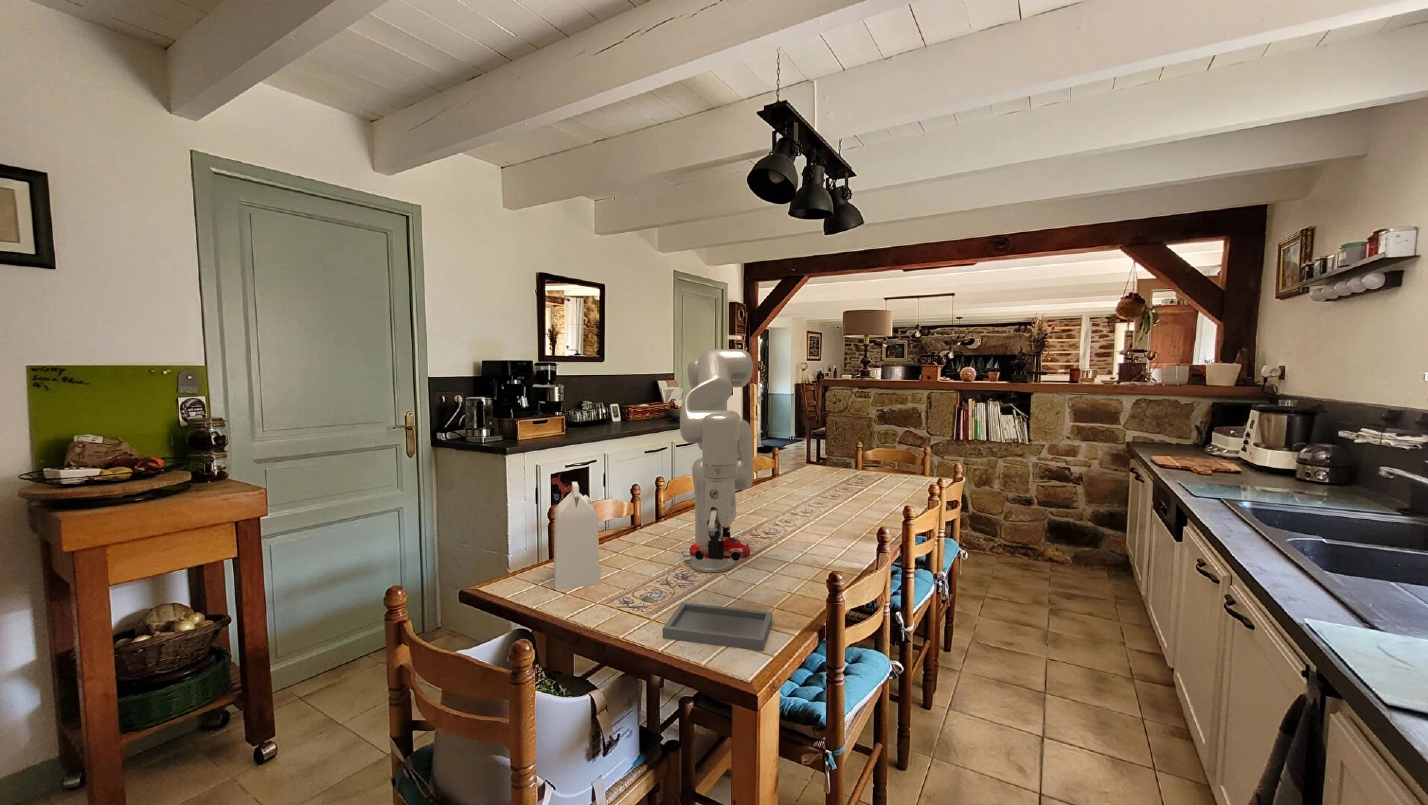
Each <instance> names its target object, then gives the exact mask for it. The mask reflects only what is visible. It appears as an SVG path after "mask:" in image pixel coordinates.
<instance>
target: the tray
mask: <svg viewBox="0 0 1428 805" xmlns="http://www.w3.org/2000/svg"><path fill="white" fill-rule="evenodd" d="M772 625H773V611H764V610H757V609H746V608H739V607H728V606H720V605H719V606H718V605H712V604H703V603H702V604H701V603H694V602H693V603H691V602H684V601H683V602H682V601H681V603H680V604H679V605H678V607H677V608H676V609H675V611H674V612H673V613H672V615H671V616H670V617H669V619H668V620H667V621H666V623H665V624H664V626H663V627H662V639H665V640H672V641H673V640H674V641H680V642H681V641H683V642H691V643H695V644H696V643H697V644H698V643H699V644H705V645H713V646H723V647H727V648H728V647H729V648H737V649H745V650H752V651H759V652H763V651H764V649H765V646H766V642H767V640H768V636H769V634H770V630H771V627H772Z"/></svg>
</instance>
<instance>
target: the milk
mask: <svg viewBox="0 0 1428 805" xmlns="http://www.w3.org/2000/svg"><path fill="white" fill-rule="evenodd" d="M598 519H599V518H598V512H597V509H596V507H595V505H594V504H593V500H592V499H591V498H590V497H589V496H588V495H587V494H584V495H583V494H582V493H581V492H580V486H579V484H578V481H571V492H570V493H568V494H567V495H566V497H564V498H563V499H562V500H561V501H560V502H559V503H558V504H557V505H556V507H555V511H554V542H553V543H554V546H553V551H554V552H553V580H554V589H555V591H557V590H564V589H572V588H582V587H590V586H599V585H601V571H600V570H601V568H600V567H601V565H600V564H601V562H600V542H599V524H598V523H599V521H598Z"/></svg>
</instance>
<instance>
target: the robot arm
mask: <svg viewBox="0 0 1428 805" xmlns="http://www.w3.org/2000/svg"><path fill="white" fill-rule="evenodd" d="M753 370H754V363H753V359H752V356H751V354H750V353H749V352H748V351H747V350H745V349H739V348H738V349H737V348H734V349H733V348H731V349H730V348H728V349H727V348H723V349H722V348H713V349H707V350H705V351H704V352H702V353H701V354H700V355H699V357H698V358H694V359H692V360H691V361H689V362H688V365H687V378H688V382H689V386H690V391H688V393H686V395H685V396H684V398H683V399H682V401H681V405H680V410H679V411H680V412H679V414H680V415H679V416H680V417H679V429H680V435H681V438H682V439H683V441H684V442H686V443H689V444H697V447H698V448H699V449H700V450H701V452H702V453H701V455H702V456H701V457H699V458H697V459H696V460H695V461H694V462H693V464H692V467H691V476H692V483H693V490H694V511H695V512H694V517H695V518H694V524H695V525H694V531H695V532H694V536H695V537H694V538H695V540H694V542H695V543H698V542H705V541H708V558H705V556H704V557H703V559H701V560H698V559H696V557H693V556H691V555H690V553H689V549H690V548H686V547H682V549H681V555H682V556H683V558H690V560H689V566H690V568H691V569H694V570H695V571H697V572H701V573H702V572H703V573H720V572H725V571H728V570H730V569H732V568H733V567H734V560H733V559H732V558H731V559H723V558H724V541H723V540H722V537H731V525H732V524H733V522H734V521H735V519H736V517H737V502H736V501H737V500H736V498H737V497H736V496H737V495H736V491H744V490H748V489H750V488H751V487H752V486H753V482H754V457H753V456H754V455H753V452H754V451H753V432H752V427H751V425H750V423H749V421H747V420H745V419H743V418H742V417H741V415H740V414H739V413H738V412H737V411H733V410H728V409H727V407H726V406H727V405H726V402H727V401H728V400H729V399H730V397H731V396H732V393H733V388H743V387H745V386H747V384H748V383H749V381H750V380H751V379H752V376H753V372H754V371H753ZM695 543H694V544H695Z"/></svg>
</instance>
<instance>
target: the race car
mask: <svg viewBox="0 0 1428 805" xmlns="http://www.w3.org/2000/svg"><path fill="white" fill-rule="evenodd" d="M722 540H723V541H724V558H723V559H732V560H733V562H737V561H739V560H740V559H746V558H749V557H750V556H751V547H750V546H749V542H748V541H745V540H741V539H739V538H736V537H731V536H730V537H722ZM688 549H689V553H690V555H691V556H693V557H696V559H698V560H701V559H703V557H704V556H705V558H708V541H705V542H698V543H693V544H691V545H690V547H689V548H688Z"/></svg>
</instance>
